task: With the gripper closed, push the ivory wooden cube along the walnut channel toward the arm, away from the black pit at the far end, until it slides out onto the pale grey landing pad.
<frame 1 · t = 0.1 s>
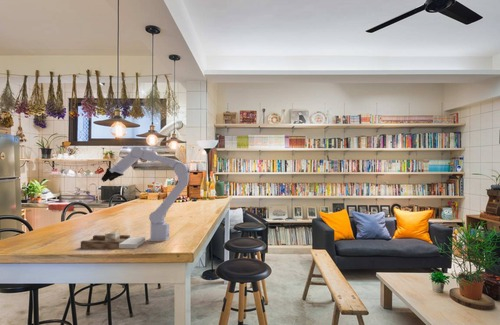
hand: (106, 180, 152), 32 cm above the table, tool tilted 50°, fingers open, 7 cm apart
cube: (112, 240, 141), point 2 cm above the table, touching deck
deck: (114, 244, 141), on the table
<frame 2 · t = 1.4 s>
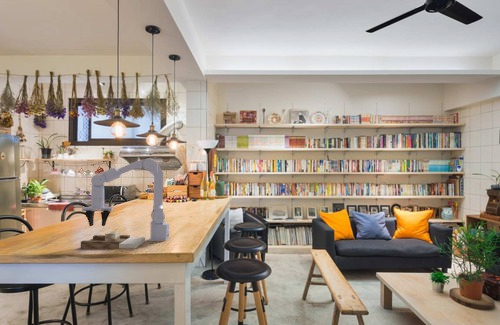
hand: (97, 225, 141), 9 cm above the table, tool pointing down, fingers open, 5 cm apart
nothing on the table moved.
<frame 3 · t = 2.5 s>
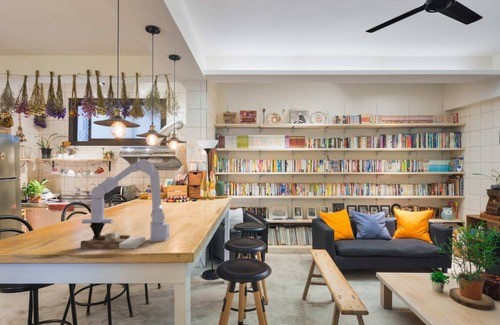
hand: (97, 238, 141), 3 cm above the table, tool pointing down, fingers closed
nothing on the table moved.
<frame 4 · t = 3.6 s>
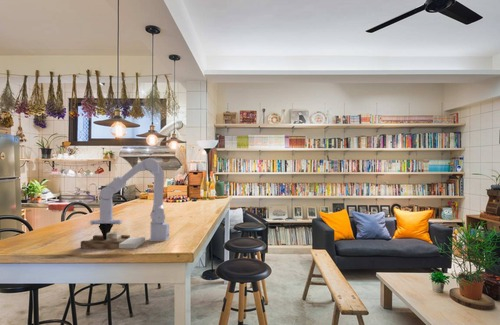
hand: (105, 238, 141), 3 cm above the table, tool pointing down, fingers closed
cube: (114, 240, 141), point 2 cm above the table, touching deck, gripper
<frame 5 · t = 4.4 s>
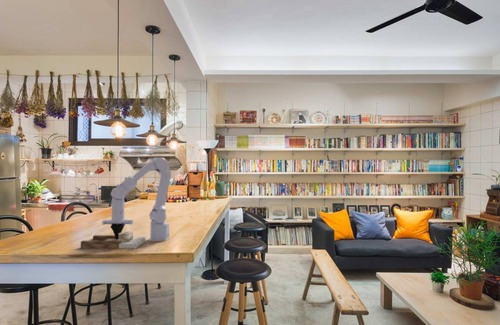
hand: (117, 238, 141), 3 cm above the table, tool pointing down, fingers closed
cube: (125, 240, 141), point 2 cm above the table, touching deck, gripper
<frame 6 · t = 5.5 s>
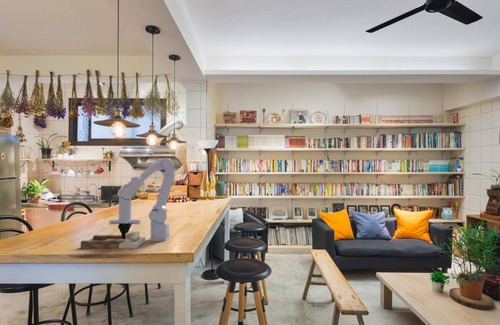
hand: (124, 238, 141), 3 cm above the table, tool pointing down, fingers closed
cube: (132, 240, 141), point 2 cm above the table, touching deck, gripper
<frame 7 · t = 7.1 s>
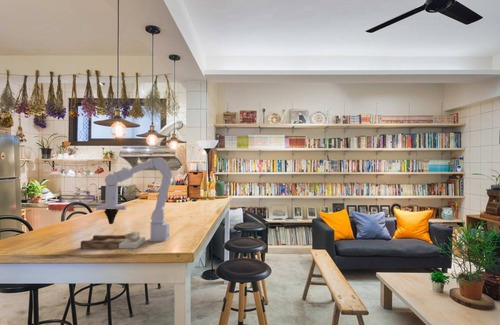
hand: (111, 223, 146), 9 cm above the table, tool pointing down, fingers closed
cube: (132, 240, 141), point 2 cm above the table, touching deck
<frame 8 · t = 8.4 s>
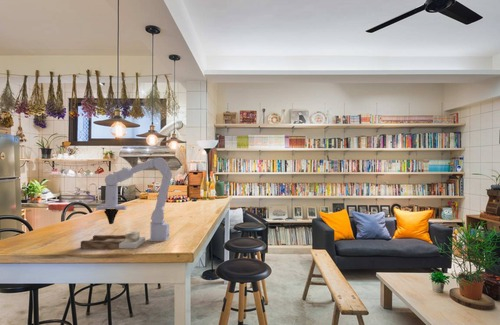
hand: (111, 223, 146), 9 cm above the table, tool pointing down, fingers closed
nothing on the table moved.
at the end: cube 0.2 cm from the target spot on the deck, point 2.0 cm above the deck's base; cube tilted 0° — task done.
